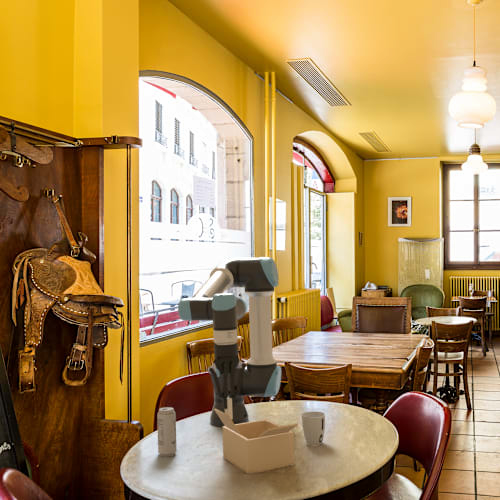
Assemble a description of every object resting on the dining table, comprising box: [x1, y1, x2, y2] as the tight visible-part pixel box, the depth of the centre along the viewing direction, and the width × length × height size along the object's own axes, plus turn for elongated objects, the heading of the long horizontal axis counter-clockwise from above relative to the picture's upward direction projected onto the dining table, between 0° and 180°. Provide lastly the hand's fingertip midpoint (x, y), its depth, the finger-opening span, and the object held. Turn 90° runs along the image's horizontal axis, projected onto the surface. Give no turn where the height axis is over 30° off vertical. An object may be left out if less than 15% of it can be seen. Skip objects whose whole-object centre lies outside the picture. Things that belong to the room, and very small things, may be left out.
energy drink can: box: [156, 406, 177, 458], centre depth 198 cm, size 6×6×15 cm
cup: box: [301, 410, 326, 446], centre depth 206 cm, size 8×8×10 cm
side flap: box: [214, 409, 240, 434], centre depth 187 cm, size 7×10×1 cm
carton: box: [221, 419, 295, 475], centre depth 190 cm, size 19×17×10 cm
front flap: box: [259, 423, 299, 437], centre depth 179 cm, size 7×10×1 cm
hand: (228, 418), depth 187 cm, fingers closed
